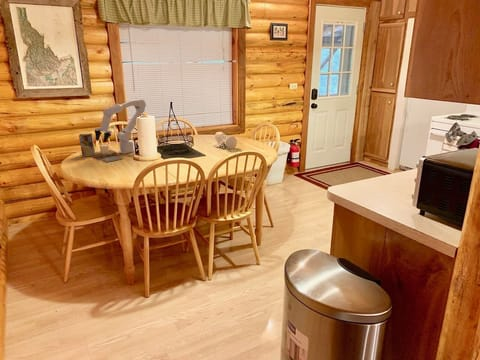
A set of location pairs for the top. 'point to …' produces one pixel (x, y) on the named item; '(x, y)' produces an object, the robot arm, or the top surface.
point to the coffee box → (87, 144)
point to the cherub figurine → (225, 140)
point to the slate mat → (111, 159)
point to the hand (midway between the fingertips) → (100, 141)
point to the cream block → (104, 149)
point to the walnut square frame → (106, 155)
